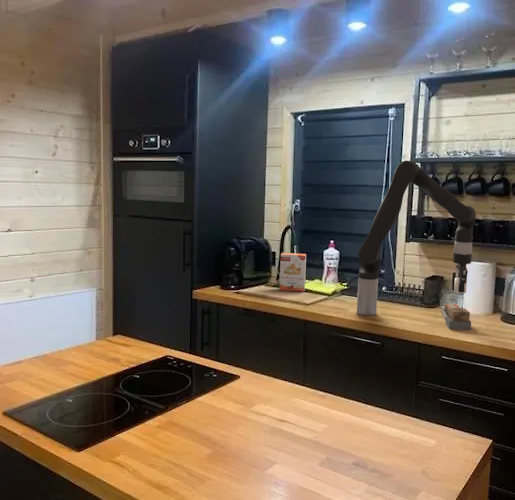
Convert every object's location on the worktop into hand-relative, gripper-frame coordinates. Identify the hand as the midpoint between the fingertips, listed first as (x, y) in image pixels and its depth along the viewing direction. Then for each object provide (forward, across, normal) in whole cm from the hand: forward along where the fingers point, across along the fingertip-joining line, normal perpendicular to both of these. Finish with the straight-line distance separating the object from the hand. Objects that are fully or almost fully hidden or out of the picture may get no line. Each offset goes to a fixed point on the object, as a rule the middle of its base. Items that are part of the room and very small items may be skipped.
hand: (459, 290), depth 242 cm
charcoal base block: (+17, 0, 0) cm, 17 cm away
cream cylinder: (+1, 0, 0) cm, 1 cm away
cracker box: (+17, -57, -79) cm, 99 cm away
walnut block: (+13, 0, 0) cm, 13 cm away
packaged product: (+17, -20, +2) cm, 26 cm away
